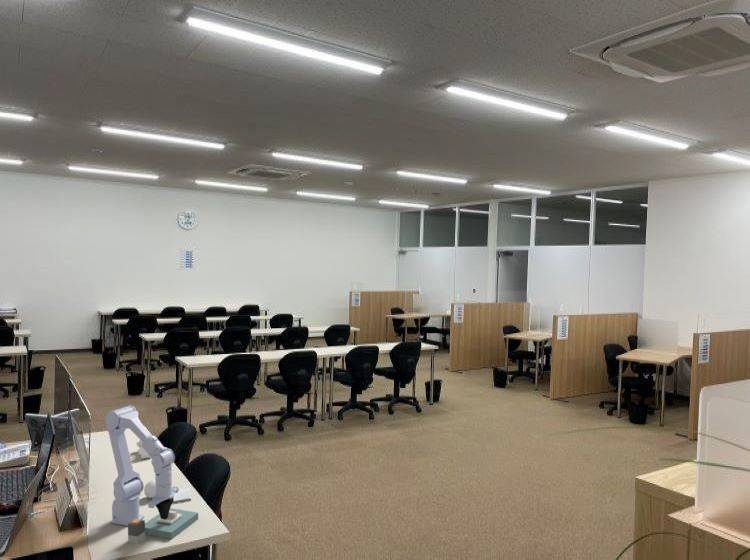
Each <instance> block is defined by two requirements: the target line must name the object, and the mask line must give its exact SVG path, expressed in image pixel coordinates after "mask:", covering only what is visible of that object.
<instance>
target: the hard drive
mask: <svg viewBox="0 0 750 560" xmlns="http://www.w3.org/2000/svg"><path fill="white" fill-rule="evenodd" d="M178 489H179V492H178V493H174V494H173V495H174V497H173V498H174V501H173V503H175V504H179V503H178V502H180V503H184V502H185V501H186V502H191V501H192V498H191V493H190V489H189V487H187V486H186V487H178ZM186 502H185V503H186Z"/></svg>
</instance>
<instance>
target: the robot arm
mask: <svg viewBox="0 0 750 560" xmlns="http://www.w3.org/2000/svg"><path fill="white" fill-rule="evenodd" d="M104 421H105V424H106V429H107V433H108V435H109V436H108V437H109V440H110V445H111V449H112V454H113V458H114V461H115V467H116V470H117V477H116V478H115V480H114V481H113V483H112V485H113V497H114V499H113V501H112V505H111V517H112V520H110V523H111V524H115V525H116V524H117V525H121V526H127V527H128V524H129V523H130V522H132V521H133V520H135V519H139V520H143V518H144V519H145V515H143V514H142V515H141V514H140V496H141V493H142V492H144V488H145V485H144V481H143V480H142V479H141V475H140V473H139V472H137V471H135V470H133V465H132V464H133V463H132V460H131V456H130V452H129V448H128V442H127V438H126V434H125V431H126V430H127V429H129V430H130V431H131V432H132V433H133V434H134V435H135V436H136V438H138V439H139V441H140V440H141V441H142V447H143V449H144V450H145V451H146V452H147V453H148V455H149V456H150V457H151V458H150V459H152V460H151V461H150V462H151V466H152V467H153V472H154V474H155V476H154V477H155V479H154V480H156V495H155V496H154V497H153V498H151V500H150V501H149V502H148V506H147V508H149V509H154V508H155V507H156V509H157V511H158V514H160V517H161V519H164V520H166V519H167V518H168V514H169V510H170V508H171V507H172V505H173V504H172V503H173V501H174V498H173V497H174V495H173V494H174V493H178V492H179V486H173V476H172V475H173V473H172V472H173V470H172V469H173V468H172V467H173V466H172V464H173V463H174V462H175V460H176V455H175V453H174V451H173V449H171V448H168V447H165V446H164V445H163V444H162V442H161V441H160V440H159V439H158V437H157V436H156V435H152V434H151V435H150V433H149V431H148V430H147V428H146V427H145V426H144V424H143V423H142V422H141V420H140V418H139V411H138V410H137V409H136V407H135V406H134V405H132V404H131V405H127V406H125V407H121V408H118V409H114V410H109V411H108V412H107V414H106V416H105V418H104Z"/></svg>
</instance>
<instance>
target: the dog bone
mask: <svg viewBox="0 0 750 560" xmlns="http://www.w3.org/2000/svg"><path fill="white" fill-rule="evenodd" d="M136 446H137V447H138V449H137V454H139V455H140V458H141V460H143V459H144V460H145V459H146V458H148V459H152V458H151V457H150V456H149V455H148V453H147V452H146V451H145V450H144V449H143V447H142V441H141V440H140V439H139V441H137V442H136Z"/></svg>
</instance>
